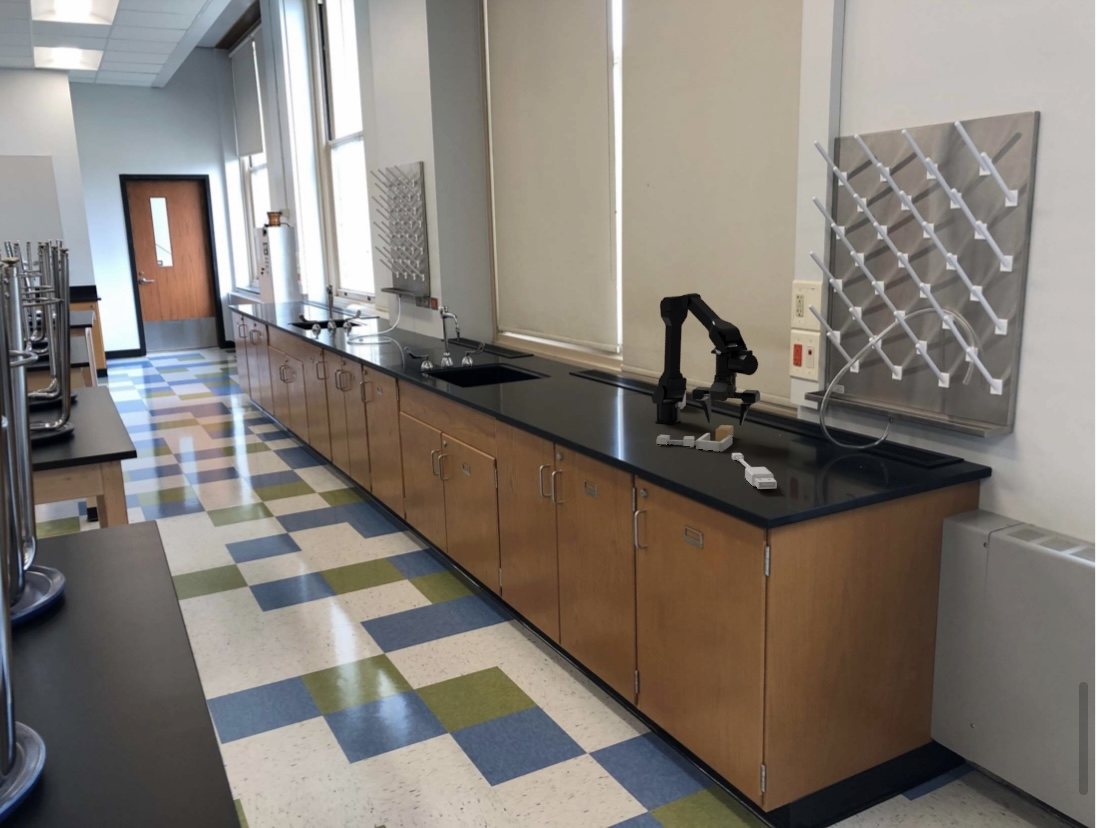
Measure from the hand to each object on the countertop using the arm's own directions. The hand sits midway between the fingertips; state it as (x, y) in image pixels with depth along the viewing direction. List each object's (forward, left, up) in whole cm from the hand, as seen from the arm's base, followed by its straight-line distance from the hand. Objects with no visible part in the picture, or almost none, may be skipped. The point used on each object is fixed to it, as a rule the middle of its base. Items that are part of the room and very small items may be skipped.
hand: (725, 424), depth 247 cm
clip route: (-10, -12, -4) cm, 16 cm away
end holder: (0, -9, -4) cm, 10 cm away
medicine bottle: (-29, +37, -5) cm, 47 cm away
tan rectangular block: (0, 0, -5) cm, 5 cm away
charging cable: (+16, -32, -5) cm, 37 cm away
